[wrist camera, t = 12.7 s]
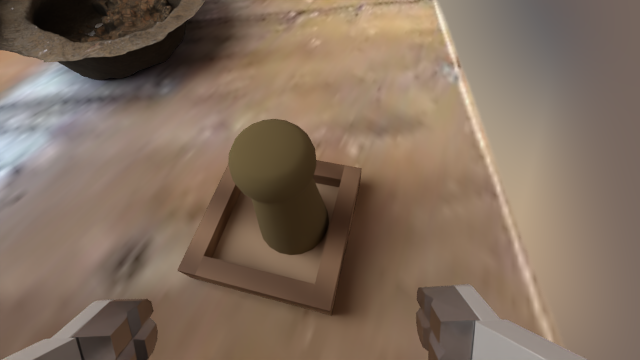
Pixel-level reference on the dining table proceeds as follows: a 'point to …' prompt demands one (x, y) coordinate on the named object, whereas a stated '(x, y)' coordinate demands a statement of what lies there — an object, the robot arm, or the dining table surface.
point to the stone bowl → (96, 32)
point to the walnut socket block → (264, 262)
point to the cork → (280, 184)
